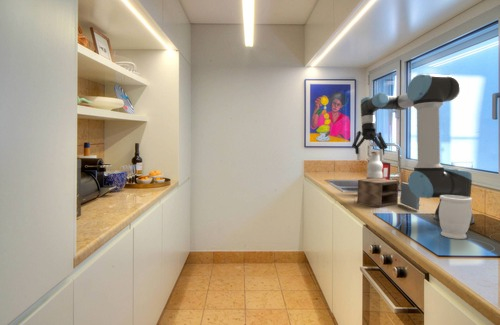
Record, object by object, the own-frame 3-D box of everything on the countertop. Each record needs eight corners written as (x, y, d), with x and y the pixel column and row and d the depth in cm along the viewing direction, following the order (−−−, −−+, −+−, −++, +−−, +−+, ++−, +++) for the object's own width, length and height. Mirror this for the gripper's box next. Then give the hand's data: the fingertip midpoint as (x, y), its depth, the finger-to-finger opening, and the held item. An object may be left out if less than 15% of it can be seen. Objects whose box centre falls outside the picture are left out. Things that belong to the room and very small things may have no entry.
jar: (458, 232, 132) (460, 194, 130) (476, 240, 121) (479, 199, 120) (431, 232, 131) (433, 194, 130) (448, 240, 121) (450, 199, 120)
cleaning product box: (367, 189, 238) (368, 161, 237) (379, 189, 238) (381, 161, 237) (375, 193, 222) (376, 163, 220) (388, 193, 222) (390, 163, 220)
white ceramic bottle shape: (365, 196, 208) (367, 151, 206) (366, 194, 216) (368, 151, 214) (381, 198, 204) (383, 152, 202) (382, 195, 213) (384, 151, 210)
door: (404, 202, 186) (405, 182, 185) (421, 209, 169) (423, 187, 168) (399, 202, 186) (400, 182, 185) (416, 209, 168) (417, 186, 168)
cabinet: (397, 204, 186) (398, 180, 185) (380, 207, 176) (381, 183, 175) (374, 200, 197) (375, 178, 196) (357, 203, 187) (358, 180, 186)
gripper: (385, 127, 199) (387, 162, 195) (345, 124, 196) (346, 160, 192) (392, 123, 192) (394, 159, 188) (350, 120, 188) (352, 157, 184)
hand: (370, 160), depth 190 cm, fingers open, 13 cm apart
